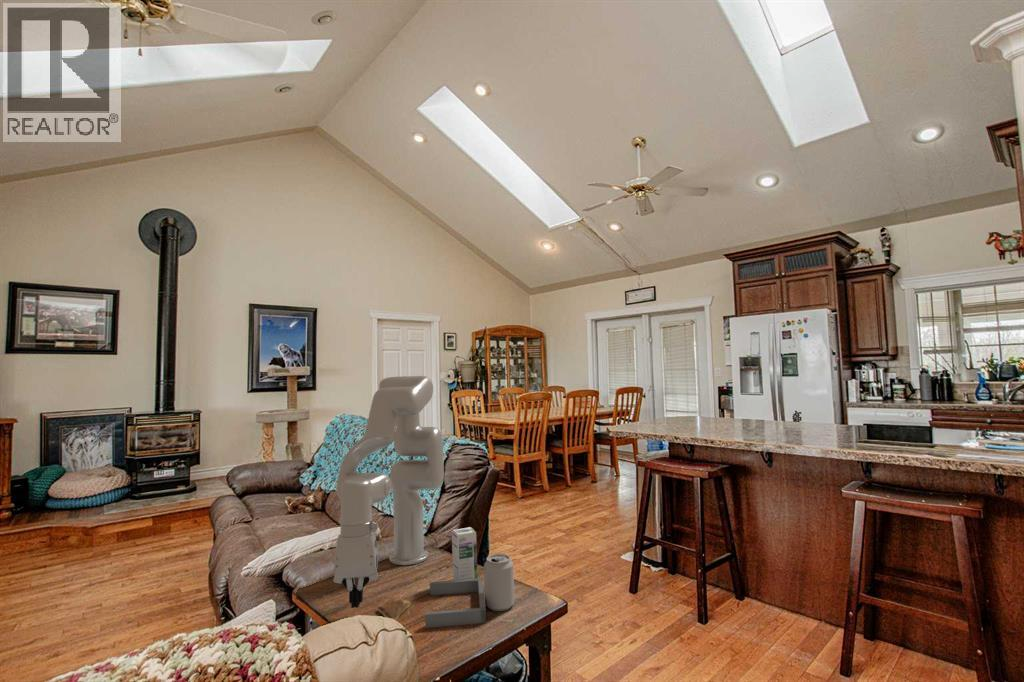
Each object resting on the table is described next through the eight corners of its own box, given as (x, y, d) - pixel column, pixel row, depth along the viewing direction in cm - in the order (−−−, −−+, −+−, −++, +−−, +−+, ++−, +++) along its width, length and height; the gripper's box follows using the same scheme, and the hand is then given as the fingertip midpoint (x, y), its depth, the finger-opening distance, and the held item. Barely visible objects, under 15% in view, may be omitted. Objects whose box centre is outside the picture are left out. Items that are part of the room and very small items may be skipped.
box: (430, 593, 131) (430, 582, 132) (482, 589, 133) (482, 578, 133) (425, 628, 113) (425, 614, 113) (486, 622, 115) (485, 609, 115)
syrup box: (458, 588, 134) (457, 534, 136) (452, 580, 140) (451, 528, 141) (477, 584, 137) (476, 531, 138) (471, 576, 142) (470, 525, 143)
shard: (393, 628, 114) (392, 620, 115) (363, 626, 116) (363, 618, 116) (412, 607, 125) (412, 599, 125) (385, 605, 127) (385, 598, 127)
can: (481, 602, 125) (479, 555, 126) (507, 596, 128) (506, 550, 129) (491, 615, 118) (489, 564, 119) (519, 608, 121) (517, 559, 122)
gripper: (388, 523, 126) (388, 596, 125) (329, 526, 125) (328, 601, 123) (384, 531, 119) (384, 610, 117) (321, 535, 117) (320, 614, 116)
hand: (356, 605), depth 120 cm, fingers closed
